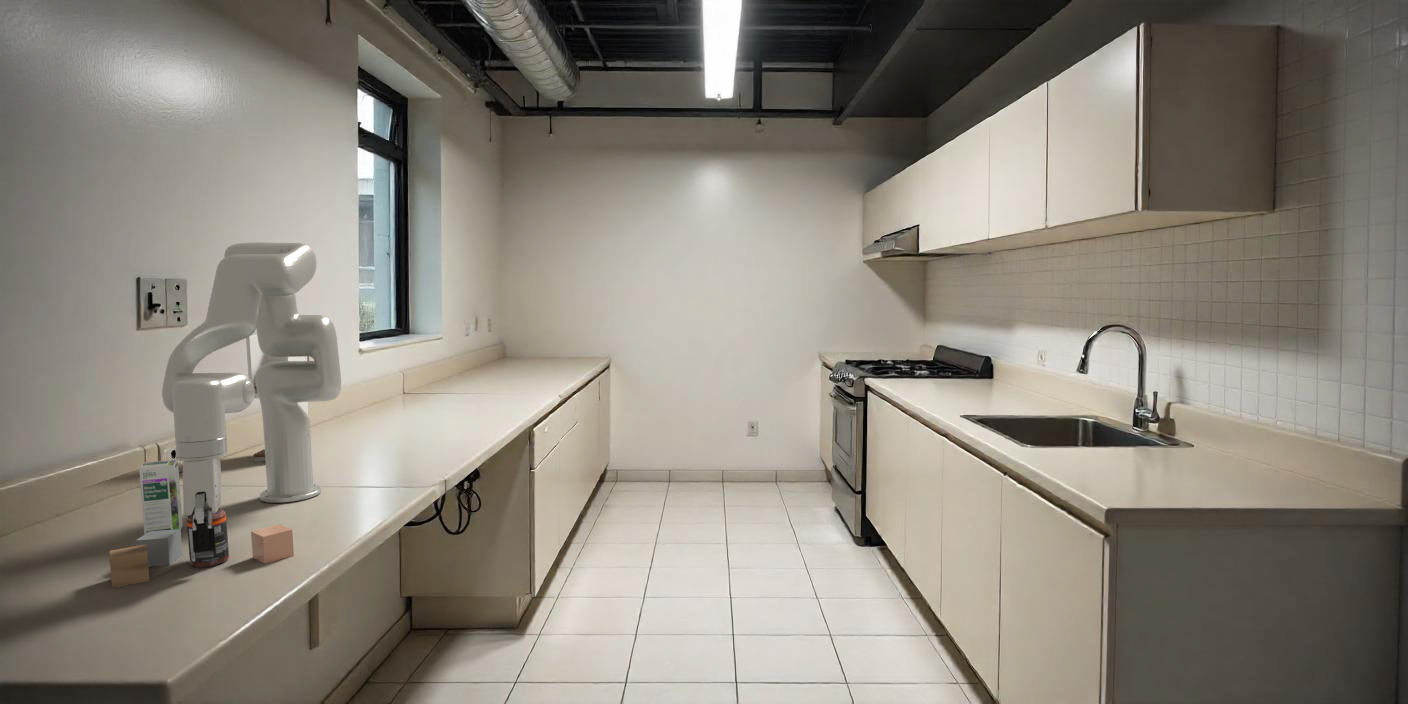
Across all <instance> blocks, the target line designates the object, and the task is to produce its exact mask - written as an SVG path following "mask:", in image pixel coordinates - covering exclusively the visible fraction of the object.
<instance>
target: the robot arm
mask: <svg viewBox="0 0 1408 704" xmlns="http://www.w3.org/2000/svg"><path fill="white" fill-rule="evenodd" d="M223 257H224V258H222V259H221V260H220V261H219V263H218V264H217V266H216V271H215V274H214V275H215V276H214V279H213V285H212V288H211V294H210V298H209V303H208V306H207V313H206V317H205V319H204V321H203V322H202V323H201V324H200V325H198V326H197V327H196V328H194V329H192V330H191V332H189V333H188V334H187V335H186V336H185V337H184V338H183V339H182V340H181V341H180V342H179V343H178V344H177V345H176V347H174V349H173V351H172V352H171V354H170V356H169V357H168V361H167V364H166V369H165V372H164V377H163V383H162V388H161V389H162V390H161V397H162V402H163V403H162V404H164V406H165V408H166V409H167V410H168V411H170V412H171V413H173V423H174V424H173V425H174V426H173V427H174V436H175V437H174V438H175V454H176V459H177V460H178V462H179V461H180V462H182V497H183V498H182V500H183V502H182V503H183V517H185V518H186V519H187V518H188V517H189V516H190V515H192V513H193V530H192V539H193V552H194V553H199V552H206V551H213V550H215V548H216V545H215V529H214V527H212V518H213V514H215V513H216V512H217V511H218V509H219V508H220V506H221V504H222V503H221V502H222V493H223V492H222V486H223V485H222V469H221V468H222V466H221V458H222V457H224V456H225V457H226V456H227V455H228V443H227V431H226V430H227V429H226V428H227V427H226V414H233V413H234V414H235V413H240V412H242V411H244V410H246V409H247V408H249V407H250V406H251V404H252V403H253V401H254V399H255V398H254V396H255V388H254V384H253V382H252V381H251V379H250V378H249V376H247V375H246V374H243V373H239V372H195V373H194V370H195V368H196V367H197V366H198V365H199V363H200V362H201V361H202V360H204V359H205V358H206V357H208V356H209V355H211V354H212V353H214V352H216V351H218V350H220V349H223V348H226V347H228V346H230V345H233V344H235V343H238V342H240V341H242V340H243V341H244V340H245V339H246V338H247V337H249V336H253V335H254V333H255V332H256V335H257V337H258V343H259V347H260V349H261V351H262V352H263V353H264V354H265V355H268V356H273V357H305V358H306V357H310V358H312V359H313V360H305V361H279V362H272V363H268V364H265V365H264V366H262V367H261V368H260V369H259V370H258V372H257V374H256V388H257V392H258V395H259V398H258V399H259V403H260V408H261V414H262V416H261V417H262V425H263V426H262V427H263V428H262V429H263V442H264V445H263V446H264V449H265V461H264V462H265V474H266V477H265V478H266V490H264V491H262V492H260V494H259V500H260V501H262V502H265V503H271V504H272V503H273V504H274V503H276V504H277V503H278V504H279V503H280V504H281V503H292V502H297V501H298V502H299V501H302V500H307V499H311V498H314V497H316V496H318V495H320V494H321V492H322V488H321V486H320V485H318V484H314V471H313V455H312V454H313V453H312V437H311V434H312V433H311V421H310V417H309V414H308V415H307V414H306V412H305V411H304V410H303V409H302V408H301V406H300V405H299V404H298V403H299V402H308V403H310V402H311V403H313V402H330V401H333V400H336V399H337V397H339V395H340V393H341V391H342V390H341V389H342V376H341V375H342V374H341V366H340V364H341V363H340V356H339V355H340V354H339V345H338V336H337V331H336V328H335V326H334V323H333V321H332V320H331V318H329V317H328V316H325V315H321V314H300V313H299V311H298V306H297V298H296V297H297V296H296V293H299V291H300V290H302V288H304V287H305V286H307V284H309V283H310V282H311V280H312V279H313V278H314V276H315V273H316V272H317V271H316V270H317V258H316V254H315V252H314V251H313V249H312V248H311V247H310V246H309V245H308V244H305V243H300V242H261V241H260V242H240V243H235V244H231V245H229V246H228V247H227V248H225V250H224V255H223ZM205 500H207V501H205ZM205 510H208V511H205ZM207 516H208V518H207ZM207 519H208V520H207Z"/></svg>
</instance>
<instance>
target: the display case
mask: <svg viewBox="0 0 1408 704" xmlns="http://www.w3.org/2000/svg"><path fill="white" fill-rule="evenodd" d="M245 339H246V341H245V342H246V359H247V372H248V376H247V377H249V378H250V379H251V381H252V382H253V384H254V388H255V396H254V399H259V395H258V392H257V388H256V374H257V372H258V370H259V369H260V368H261V367H262V366H264V365H265V364H268V363H272V362H279V361H306V356H305V357H273V356H268V355H265V354H264V353H263V352H262V351H261V349H260V347H259V343H258V337H257V334H255V335H254V334H252V335H250V336H249V337H247V338H245ZM298 404H299V405H300V406H301V408H302V409H303V410H304V411H305V412H306V414H307V415H308V416H309V405H308V404H309V402H299V403H298ZM253 462H254V463H255V462H256V463H257V462H266V461H265V448H264V449H262V450H260V451H258V452H255V453H254V454H253Z"/></svg>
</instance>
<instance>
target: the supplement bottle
mask: <svg viewBox="0 0 1408 704" xmlns="http://www.w3.org/2000/svg"><path fill="white" fill-rule="evenodd" d="M205 501H207V500H205ZM205 511H208V510H205ZM207 518H208V516H207ZM207 520H208V519H207ZM227 522H228V521H227V514H226V512H225V511H224V509H221V507H219V509H218V511H217V512H216V513H215V514H213V518H212V527H214V529H215V545H216V548H215V550H213V551H206V552H199V553H194V552H193V539H192V530H193V513H192V515H190V516H189V517H188V518H186V529H187V531H186V532H187V542H188V554H189V564H190V566H192V567H194V568H211V567H213V566H218V565H220V564H223V563H225V562H226V561H227V560H228V559H229V558H230V552H229V551H230V550H229V538H228V523H227Z"/></svg>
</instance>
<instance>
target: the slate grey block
mask: <svg viewBox="0 0 1408 704" xmlns="http://www.w3.org/2000/svg"><path fill="white" fill-rule="evenodd" d="M145 544H147V555H148V567H150V568H151V567H160V566H161V567H163V566H171V565H172V564H173V563H174V562H175V561H177V560H178V559H180V558H181V557H182V556H183V543H182V529H176V530H161V531H149V532H148V533H146V534H145V535H144V534H143V535H142V536H140V537H139V538H137V539H135V546H139V545H145ZM180 556H181V557H180Z"/></svg>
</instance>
